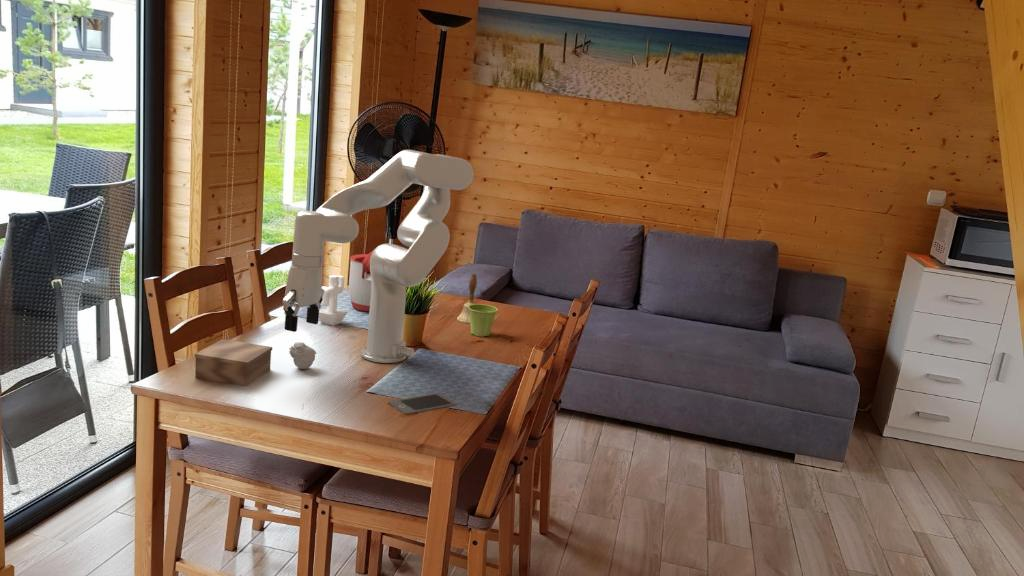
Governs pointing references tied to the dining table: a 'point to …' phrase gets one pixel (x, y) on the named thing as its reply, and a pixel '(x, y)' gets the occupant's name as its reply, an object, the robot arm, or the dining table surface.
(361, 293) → the citrus juicer
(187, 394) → the dining table surface
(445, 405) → the smartphone
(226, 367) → the walnut box
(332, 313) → the figurine
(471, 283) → the hand bell
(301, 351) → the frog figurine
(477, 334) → the plant pot
